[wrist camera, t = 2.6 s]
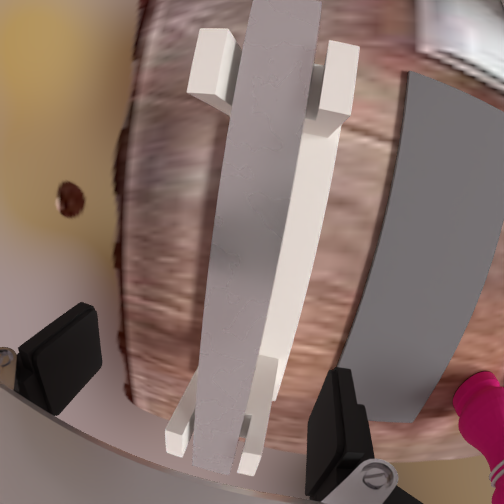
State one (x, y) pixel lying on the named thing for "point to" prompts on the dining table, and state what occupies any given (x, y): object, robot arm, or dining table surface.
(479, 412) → the pepper mill
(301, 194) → the rail stand
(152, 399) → the dining table surface
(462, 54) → the dining table surface
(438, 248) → the mat
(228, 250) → the rail
